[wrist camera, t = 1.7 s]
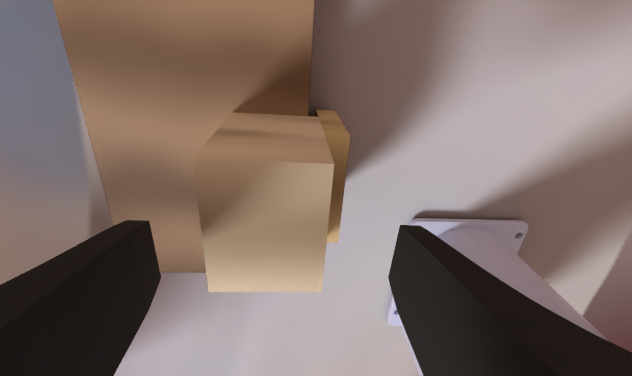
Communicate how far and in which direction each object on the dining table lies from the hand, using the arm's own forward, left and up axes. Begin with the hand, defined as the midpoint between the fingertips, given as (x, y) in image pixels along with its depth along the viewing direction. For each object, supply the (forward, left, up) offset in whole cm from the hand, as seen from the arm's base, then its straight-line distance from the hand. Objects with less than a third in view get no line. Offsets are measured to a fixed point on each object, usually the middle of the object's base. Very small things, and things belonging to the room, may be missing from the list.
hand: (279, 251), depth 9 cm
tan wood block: (0, 0, -9) cm, 9 cm away
